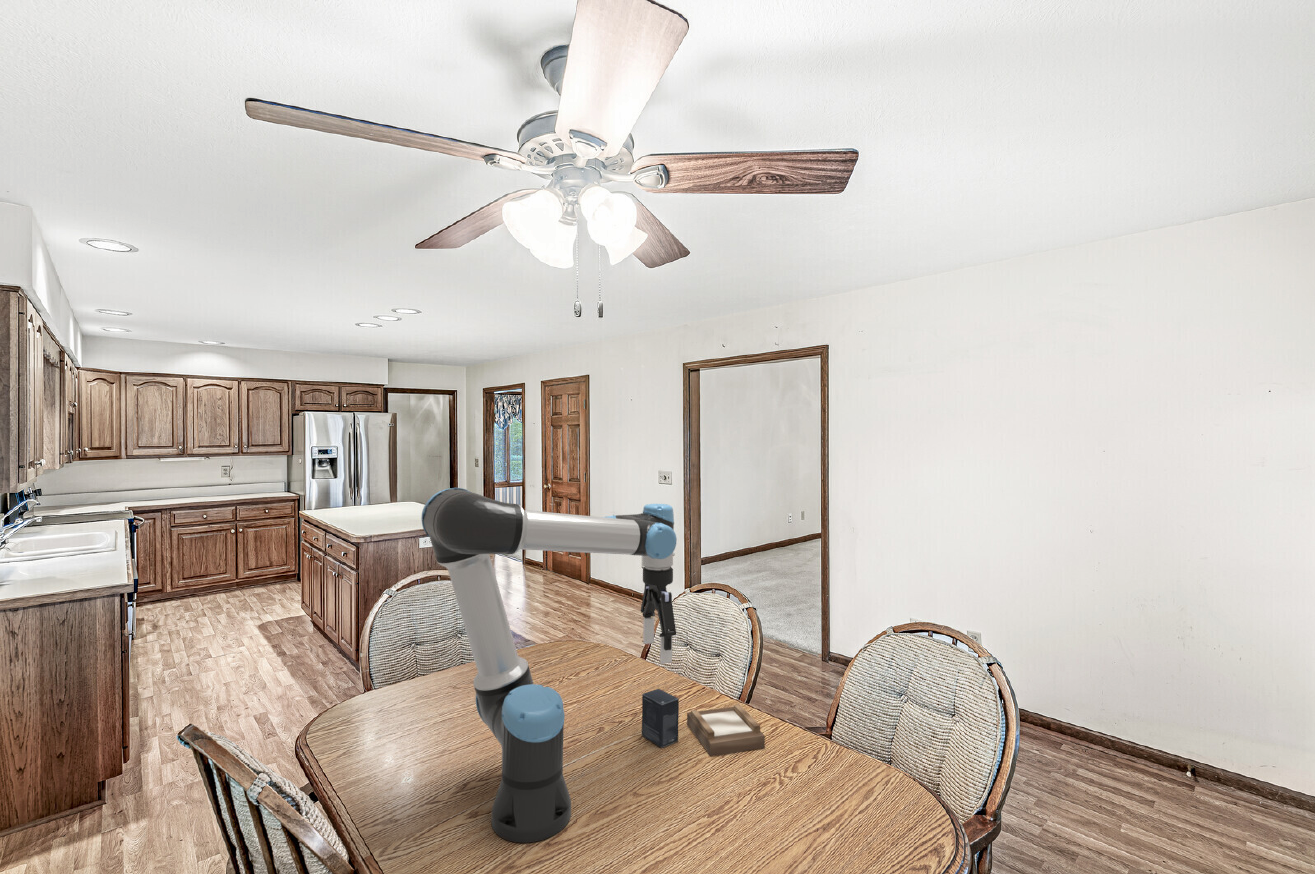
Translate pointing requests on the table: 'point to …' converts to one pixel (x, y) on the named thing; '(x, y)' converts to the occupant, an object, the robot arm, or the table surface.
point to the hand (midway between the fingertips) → (656, 652)
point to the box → (660, 717)
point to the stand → (726, 730)
